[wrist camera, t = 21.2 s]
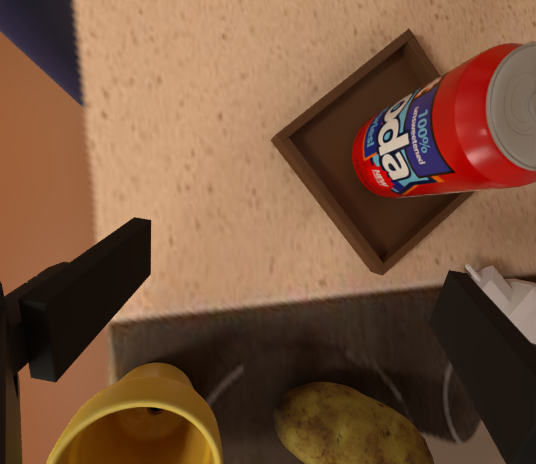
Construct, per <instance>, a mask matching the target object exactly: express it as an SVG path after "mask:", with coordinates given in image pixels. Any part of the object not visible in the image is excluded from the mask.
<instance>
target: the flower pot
mask: <svg viewBox="0 0 536 464" xmlns="http://www.w3.org/2000/svg"><path fill="white" fill-rule="evenodd" d="M149 407H155V408H162V409H160V410H158V411H153V410H151V409H150V408H149ZM46 464H223V455H222V446H221V439H220V434H219V429H218V425H217V422H216V419H215V416H214V414H213V412H212V410H211V409H210V407H209V405H208V404H207V403H206V401H205V400H204V399H203V398H202V397H201V396H200V395H199V394H198V393H197V392H196V391H195V390H194V388H193V386H192V384H191V382H190V380H189V378H188V377H187V376H186V375H185V373H183V372H182V371H181V370H180V369H178V368H176V367H175V366H172V365H170V364H166V363H149V364H145V365H142V366H139V367H137V368H135V369H133V370H132V371H130V372H129V373H128V374H126V375H125V376H124V377H123V378H122V379H121V380H120V381H119V382H118V383H115V384H113V385H111V386H109V387H107V388H105V389H103V390H102V391H100V392H99V393H97V394H96V395H94V396H93V397H92V398H91V399H90V400H88V401H87V402H86V403H85V404H84V405H83V406H82V407H81V408H80V409H79V411H78V412H77V413H76V414H75V416H74V417H73V418H72V420H71V421H70V423H69V424H68V425H67V427H66V429H65V430H64V432H63V433H62V435H61V437H60V438H59V440H58V441H57V443H56V445H55V447H54V449H53V450H52V452H51V454H50V456H49V458H48V460H47V463H46Z"/></svg>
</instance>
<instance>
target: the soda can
mask: <svg viewBox="0 0 536 464" xmlns="http://www.w3.org/2000/svg"><path fill="white" fill-rule="evenodd" d="M352 160H353V165H354V169H355V172H356V174H357V176H358V178H359V180H360V181H361V182H362V184H363V185H364V186H365V187H366V188H367V189H368V190H370V191H371V192H373V193H374V194H376V195H379V196H381V197H386V198H405V197H416V196H427V195H437V194H448V193H459V192H470V191H481V190H492V189H502V188H512V187H520V186H524V185H527V184H531V183H533V182H536V42H531V43H527V44H524V45H523V44H515V43H510V44H503V45H499V46H496V47H493V48H490V49H488V50H486V51H484V52H482V53H480V54H478V55H477V56H475V57H473V58H471V59H470V60H468V61H466V62H465V63H463V64H461V65H459V66H458V67H456V68H454V69H452V70H451V71H449V72H447V73H446V74H444V75H442V76H440V77H439V78H437V79H435V80H434V81H432V82H430V83H428V84H427V85H425V86H423V87H422V88H420V89H418V90H416V91H415V92H413V93H411V94H410V95H408V96H406V97H404V98H403V99H401V100H399V101H398V102H396V103H394V104H392V105H391V106H389V107H387V108H386V109H384V110H382V111H380V112H379V113H377V114H375V115H374V116H372V117H371V118H370V119H368V120H367V121H366V122H365V123H364V124H363V125H362V126H361V128H360V129H359V131H358V133H357V135H356V137H355V140H354V143H353V149H352Z"/></svg>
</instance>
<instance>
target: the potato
mask: <svg viewBox="0 0 536 464" xmlns="http://www.w3.org/2000/svg"><path fill="white" fill-rule="evenodd" d="M273 421H274V425H275V428H276V433H277V435H278V437H279V441H280V442H282V443H283V444H284V446H285V447H286V448H287V449H288V450H289V451H290V452H291V453H292V454H294V455H295V456H296V457H297V458H298V459H299V460H301V461H302V462H303V463H304V464H434V462H433V457H432V455H431V453H430V451H429V449H428V447H427V443H426V441H425V439H424V438H423V437H422V436H421V434H420V433H419V431H418V430H417V429H416V427H415V426H414V425H413V424H412V423H411V422H410V421H409V420H408V419H406V418H405V417H404V416H402V415H401V414H400V413H398V412H397V411H395V410H394V409H392V408H390V407H388V406H387V405H385V404H383V403H381V402H379V401H377V400H375V399H372V398H370V397H368V396H366V395H364V394H362V393H360V392H359V391H357V390H355V389H353V388H351V387H349V386H346V385H341V384H337V383H332V382H313V383H308V384H304V385H301V386H299V387H296V388H293V389H291V390H289V391H287V392H285V393H284V394H283V395H282V396H281V398H280V399H279V400H278V402H277V403H276V405H275V407H274V410H273Z"/></svg>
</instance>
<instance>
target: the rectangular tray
mask: <svg viewBox="0 0 536 464" xmlns="http://www.w3.org/2000/svg"><path fill="white" fill-rule="evenodd" d="M439 77H440V75H439V74H438V72H437V71H436V69H435V68H434V66H433V64H432V63H431V61H430V60H429V58H428V57H427V55H426V54H425V52H424V50H423V49H422V47H421V46H420V44H419V43H418V41H417V40H416V38H415V37H414V35H413V33H412V32H411V30H410V29H408V30H407V31H405V32H404V33H403V34H402V35H400V36H399V37H398V38H397V39H395V40H394V41H393V42H392V43H390V44H389V45H388V46H387V47H385V48H384V49H383V50H382V51H380V52H379V53H378V54H377V55H375V56H374V57H373V58H372V59H370V60H369V61H368V62H367V63H365V64H364V65H363V66H362V67H360V68H359V69H358V70H357V71H355V72H354V73H353V74H352V75H350V76H349V77H348V78H347V79H345V80H344V81H343V82H342V83H340V84H339V85H338V86H337V87H335V88H334V89H333V90H331V91H330V92H329V93H328V94H326V95H325V96H324V97H323V98H321V99H320V100H319V101H318V102H316V103H315V104H314V105H313V106H311V107H310V108H309V109H308V110H306V111H305V112H304V113H303V114H301V115H300V116H299V117H298V118H296V119H295V120H294V121H293V122H291V123H290V124H289V125H288V126H286V127H285V128H284V129H283V130H281V131H280V132H279V133H278V134H276V135H275V136H274V137H273V139H272V140H271V141H272V143H273V144H274V145H275V146H276V148H277V149H278V150H279V152H280V153H281V154H282V156H283V157H284V158H285V160H286V161H287V162H288V163H289V165H290V166H291V167H292V169H293V170H294V171H295V173H296V174H297V175H298V177H299V178H300V179H301V181H302V182H303V183H304V184H305V186H306V187H307V188H308V190H309V191H310V192H311V194H312V195H313V196H314V198H315V199H316V200H317V201H318V203H319V204H320V205H321V207H322V208H323V209H324V211H325V212H326V213H327V215H328V216H329V217H330V219H331V220H332V221H333V222H334V224H335V225H336V226H337V228H338V229H339V230H340V232H341V233H342V234H343V236H344V237H345V238H346V239H347V241H348V242H349V243H350V245H351V246H352V247H353V249H354V250H355V251H356V253H357V254H358V255H359V257H360V258H361V259H362V260H363V262H364V263H365V264H366V266H367V267H368V268H369V270H370V271H371V272H373V273H376V274H379V275H384V274H385V273H386V272H387V271H388V270H389V269H390V268H391V267H392V266H394V265H395V264H396V263H397V262H398V261H399V260H400V259H401V258H402V257H403V256H405V255H406V254H407V253H408V252H409V251H410V250H411V249H412V248H413V247H414V246H416V245H417V244H418V243H419V242H420V241H421V240H422V239H423V238H424V237H425V236H427V235H428V234H429V233H430V232H431V231H432V230H433V229H434V228H435V227H436V226H438V225H439V224H440V223H441V222H442V221H443V220H444V219H445V218H446V217H447V216H449V215H450V214H451V213H452V212H453V211H454V210H455V209H456V208H457V207H458V206H460V205H461V204H462V203H463V202H464V201H465V200H466V199H467V198H468V197H469V196H471V195H472V194H473V193H474V192H475V191H470V192H459V193H448V194H437V195H427V196H416V197H405V198H386V197H381V196H379V195H376V194H374V193H373V192H371V191H370V190H368V189H367V188H366V187H365V186H364V185H363V184H362V182H361V181H360V180H359V178H358V176H357V174H356V172H355V169H354V165H353V160H352V149H353V143H354V140H355V137H356V135H357V133H358V131H359V129H360V128H361V126H362V125H363V124H364V123H365V122H366V121H367V120H368V119H370V118H371V117H372V116H374V115H375V114H377V113H379V112H380V111H382V110H384V109H386V108H387V107H389V106H391V105H392V104H394V103H396V102H398V101H399V100H401V99H403V98H404V97H406V96H408V95H410V94H411V93H413V92H415V91H416V90H418V89H420V88H422V87H423V86H425V85H427V84H428V83H430V82H432V81H434V80H435V79H437V78H439Z"/></svg>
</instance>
